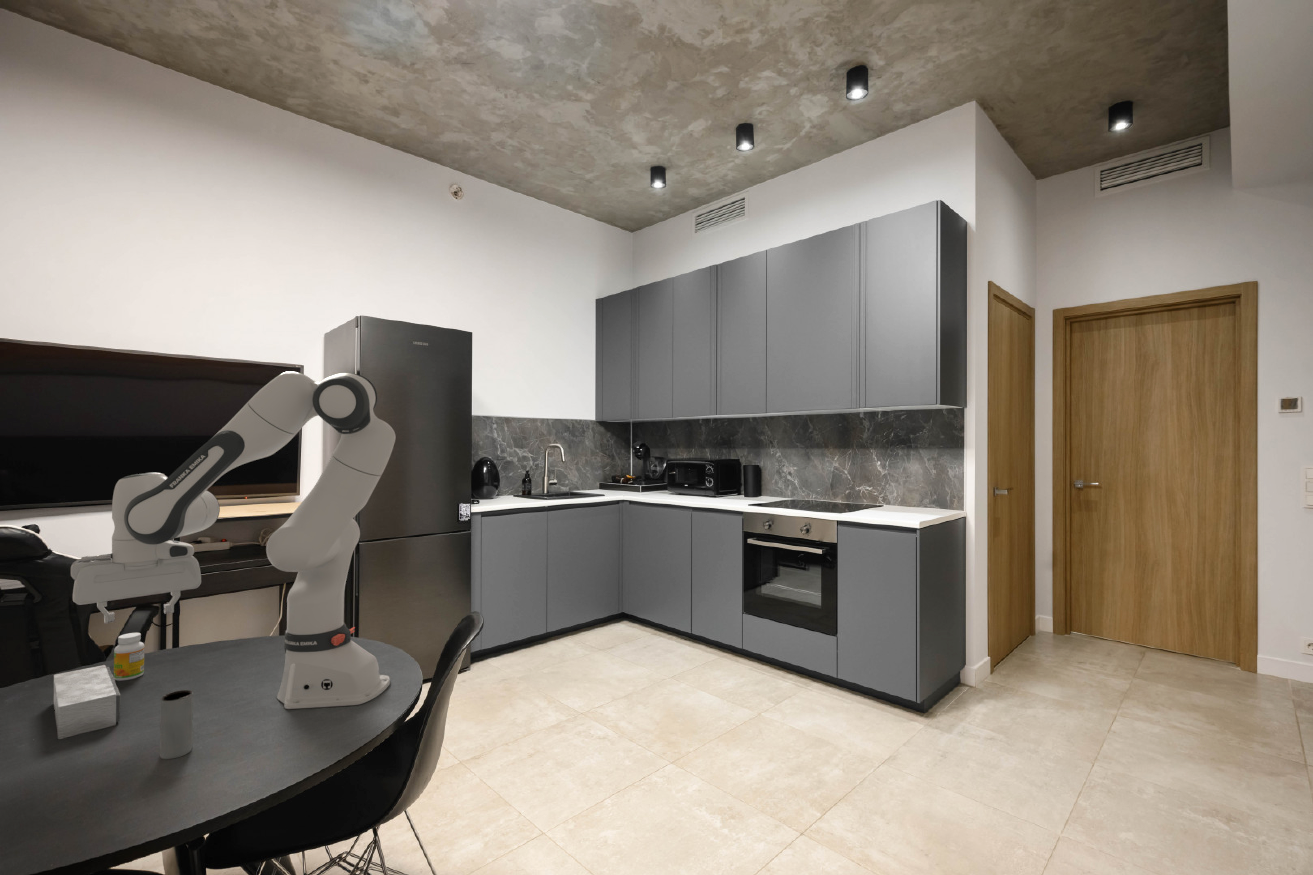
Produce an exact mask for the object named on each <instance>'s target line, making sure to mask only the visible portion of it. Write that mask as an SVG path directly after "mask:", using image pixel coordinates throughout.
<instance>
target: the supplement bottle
mask: <svg viewBox="0 0 1313 875" xmlns="http://www.w3.org/2000/svg"><path fill="white" fill-rule="evenodd" d="M141 636H142V634H141V633H140V632H129V633H124V634H121V635H119V636H118V638H117V640H118V641H117V643H118V644H117V646H115V648H114V650H113V678H114V680H115V681H129V680H133V679H137V678H139V677H141V676H143V675H144V673H145V644H144V642H142V641H141V638H142V637H141Z"/></svg>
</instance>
